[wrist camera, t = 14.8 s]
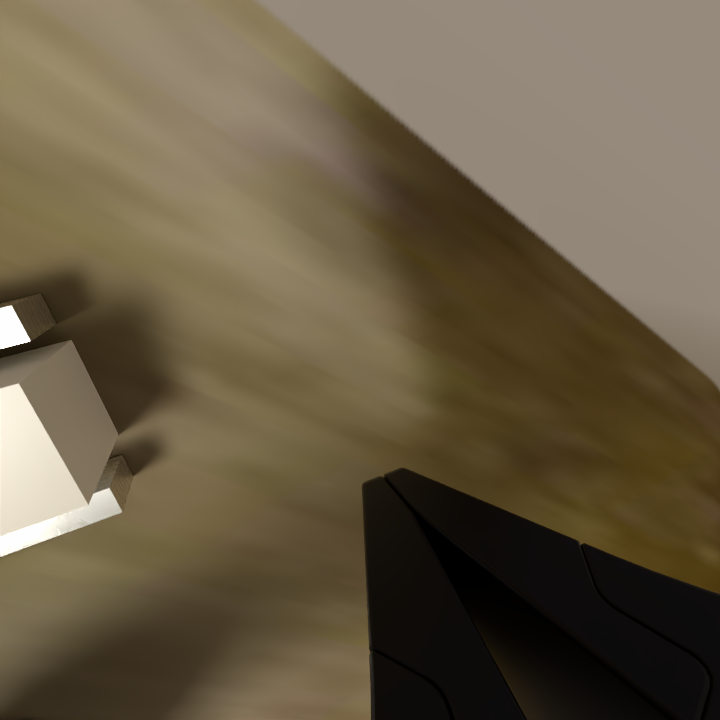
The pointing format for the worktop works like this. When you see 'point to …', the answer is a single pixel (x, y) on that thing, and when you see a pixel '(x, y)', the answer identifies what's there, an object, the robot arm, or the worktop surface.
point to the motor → (26, 323)
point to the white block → (49, 436)
